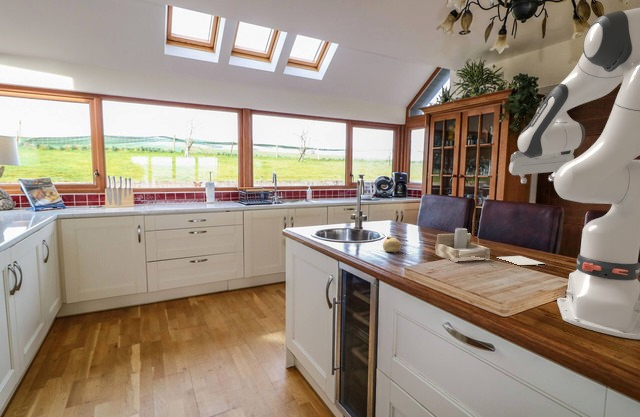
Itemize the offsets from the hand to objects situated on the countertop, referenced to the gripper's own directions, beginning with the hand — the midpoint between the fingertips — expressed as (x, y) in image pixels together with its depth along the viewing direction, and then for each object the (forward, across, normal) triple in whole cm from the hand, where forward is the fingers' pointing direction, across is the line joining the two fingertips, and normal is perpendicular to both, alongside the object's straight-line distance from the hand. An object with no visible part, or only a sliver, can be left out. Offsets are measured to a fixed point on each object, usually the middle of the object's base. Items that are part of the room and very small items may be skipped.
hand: (537, 181), depth 126 cm
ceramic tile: (+30, -6, -13) cm, 33 cm away
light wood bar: (+26, -26, -15) cm, 40 cm away
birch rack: (+28, -28, -11) cm, 41 cm away
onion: (+26, -57, -8) cm, 63 cm away
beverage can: (+28, -29, -10) cm, 42 cm away
